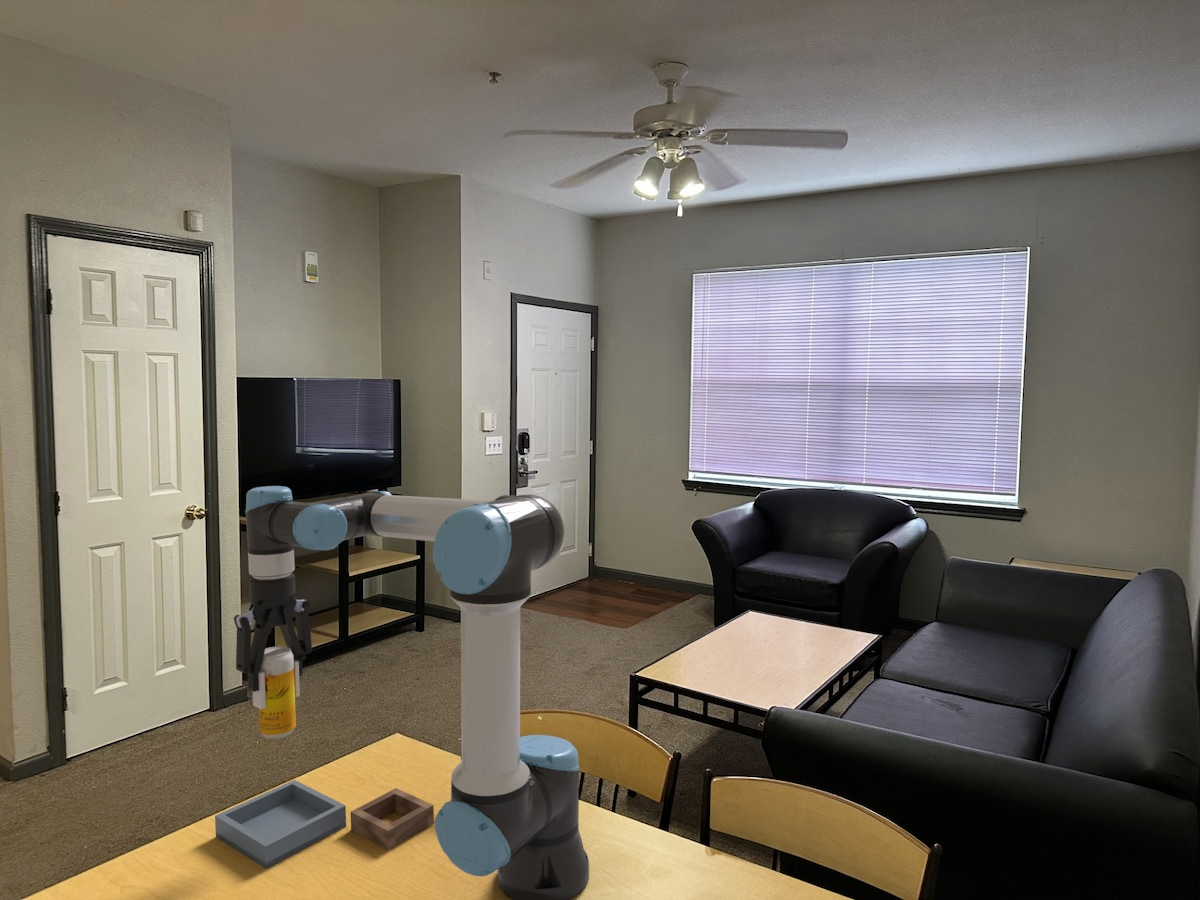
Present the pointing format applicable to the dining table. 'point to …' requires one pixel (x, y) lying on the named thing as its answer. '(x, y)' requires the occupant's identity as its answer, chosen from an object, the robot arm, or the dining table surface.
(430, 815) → the collar holder
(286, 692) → the beer can
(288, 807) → the tray
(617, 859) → the dining table surface
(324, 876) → the dining table surface
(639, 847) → the dining table surface
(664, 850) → the dining table surface
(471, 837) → the robot arm
